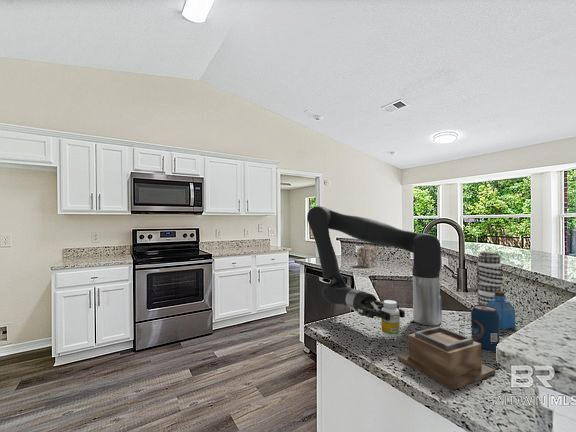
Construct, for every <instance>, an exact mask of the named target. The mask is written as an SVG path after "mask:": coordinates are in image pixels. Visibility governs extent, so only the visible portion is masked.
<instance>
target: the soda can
mask: <svg viewBox="0 0 576 432" xmlns="http://www.w3.org/2000/svg"><path fill="white" fill-rule="evenodd" d="M472 306H473V307H472V309H471V310H470V323H471V326H470V327H471V330H470V331H471V332H470V333H471V336H470V338H472V339H473V341H475V342H478V343H480V344H481V352H482V351H483V352H488V353H494V352H495V351H496V346H497V344H498V343H499V342H500V328H499V314H498V313H497V311H496V308H494V307H491V306H486V305H479V304H474V305H472ZM500 343H501V342H500ZM496 352H497V351H496Z"/></svg>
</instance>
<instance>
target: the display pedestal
mask: <svg viewBox="0 0 576 432" xmlns="http://www.w3.org/2000/svg"><path fill="white" fill-rule="evenodd" d="M407 336H408V352H406V353H402V354H398V355H397V360H399V361H400V362H402V363H404V364H406V365H407V366H409V367H411V368H412V369H414V370H416V371H418V372H419V373H421V374H423V375H425V376H426V377H428V378H430V379H432V380H433V381H435V382H437V383H438V384H440V385H443V386H444V387H446V388H447V389H449V390H451V391H454V390H456V389H460V388H462V387H465V386H467V385H469V384H473V383H475V382H478V381H479V380H483V379H485V378H488V377H491V376H493V374H494V375H495V374H496V370H495V369H494V368H491V367H489V366H487V365H485V364H483V363H482V360H483V359H482V350H481V344H480V343H478V342H475V341H473V339H472V338H471V337H470V336H466V335H463V334H461V333H459V332H455V331H453V330H450V329H448V328H445V327H442V326H439V325H438V326H434V327H431V328H427V329H426V328H425V329H424V330H417V331H415V332H414V333H411V334H408V335H407Z"/></svg>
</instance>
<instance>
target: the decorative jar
mask: <svg viewBox="0 0 576 432" xmlns="http://www.w3.org/2000/svg"><path fill="white" fill-rule="evenodd" d="M377 252H378V251H377V249H376V248H375V247H374V246H371V245H370V244H364V246H361V247H359V248H358V250H357V266H358V267H360V266H364V267H363V268H368V267H370V268H373V267H372V266H376V267H377V266H378V255H377Z"/></svg>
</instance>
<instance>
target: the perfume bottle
mask: <svg viewBox="0 0 576 432" xmlns="http://www.w3.org/2000/svg"><path fill="white" fill-rule="evenodd" d="M494 292H495V294H494V298H495V300H491V301H490V302H489V303H488V304H487V306H491V307H494V308H496V311H497V313H498V314H499V329H501V330H508V329H513V328H516V309H515V308H514V307H513V305H512V303H510V301H506V299H507V297H506V292H505V291H502V290H501V291H494Z"/></svg>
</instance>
